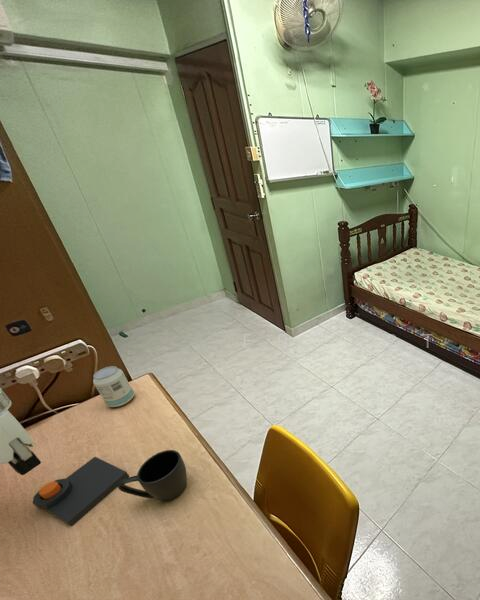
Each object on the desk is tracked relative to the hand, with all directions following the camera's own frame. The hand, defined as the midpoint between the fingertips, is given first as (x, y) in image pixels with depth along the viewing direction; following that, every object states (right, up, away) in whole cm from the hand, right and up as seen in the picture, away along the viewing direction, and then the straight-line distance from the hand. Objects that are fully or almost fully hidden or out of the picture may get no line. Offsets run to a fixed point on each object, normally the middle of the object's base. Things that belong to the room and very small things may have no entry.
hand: (29, 467), depth 68 cm
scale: (+5, -10, +7) cm, 13 cm away
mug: (+24, -10, +7) cm, 27 cm away
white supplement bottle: (-8, +4, +32) cm, 33 cm away
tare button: (0, -8, +4) cm, 9 cm away
